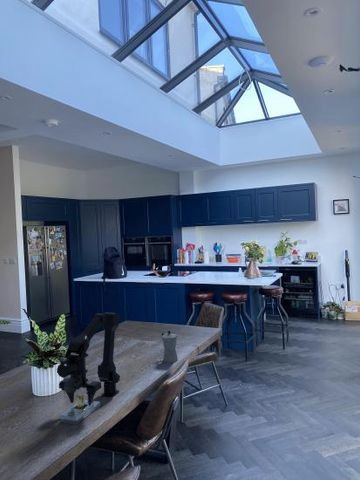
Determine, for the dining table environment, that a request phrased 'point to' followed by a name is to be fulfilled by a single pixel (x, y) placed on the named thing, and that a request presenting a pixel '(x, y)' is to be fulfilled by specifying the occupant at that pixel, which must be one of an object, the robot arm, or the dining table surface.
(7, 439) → the dining table surface
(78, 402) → the pin
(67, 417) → the slotted mounting bracket
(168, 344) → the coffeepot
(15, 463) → the dining table surface
